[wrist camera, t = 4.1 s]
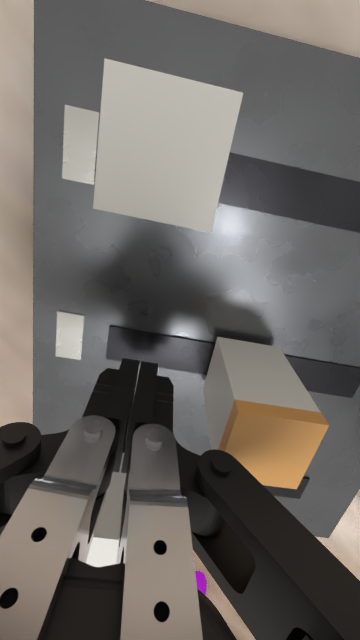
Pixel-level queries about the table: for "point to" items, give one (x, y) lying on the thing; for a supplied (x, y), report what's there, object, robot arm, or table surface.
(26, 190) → the table surface
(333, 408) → the panel
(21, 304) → the table surface
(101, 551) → the block
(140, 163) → the breaker
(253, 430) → the block
